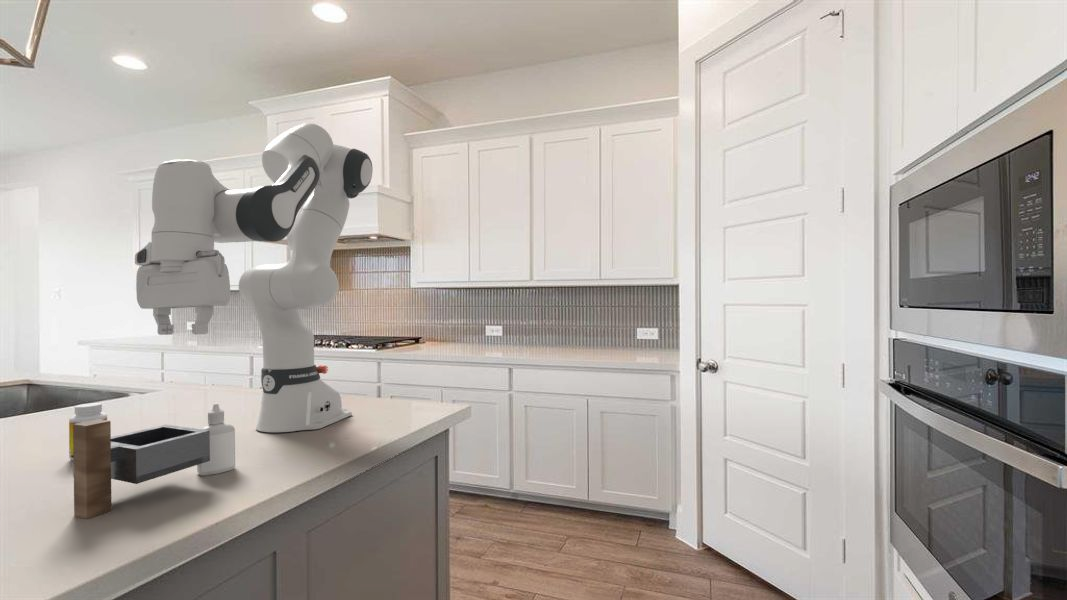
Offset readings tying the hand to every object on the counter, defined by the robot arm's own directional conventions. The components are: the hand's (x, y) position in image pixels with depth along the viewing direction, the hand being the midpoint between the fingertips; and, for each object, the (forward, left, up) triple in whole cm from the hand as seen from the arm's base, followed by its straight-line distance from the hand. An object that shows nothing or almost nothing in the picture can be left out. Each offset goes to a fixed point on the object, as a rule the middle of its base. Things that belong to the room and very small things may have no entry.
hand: (182, 334), depth 85 cm
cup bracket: (+8, +1, -25) cm, 26 cm away
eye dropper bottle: (-5, +1, -25) cm, 25 cm away
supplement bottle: (-1, -30, -25) cm, 39 cm away
